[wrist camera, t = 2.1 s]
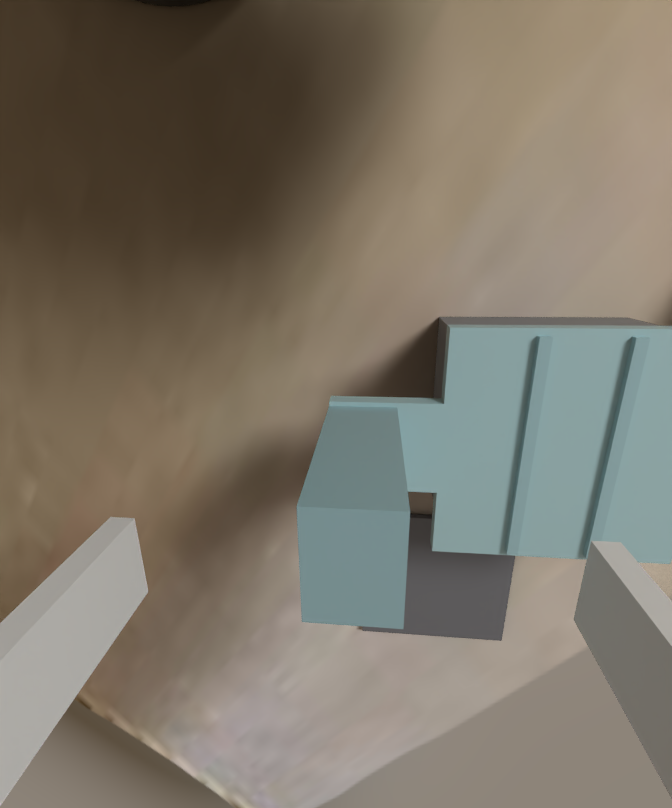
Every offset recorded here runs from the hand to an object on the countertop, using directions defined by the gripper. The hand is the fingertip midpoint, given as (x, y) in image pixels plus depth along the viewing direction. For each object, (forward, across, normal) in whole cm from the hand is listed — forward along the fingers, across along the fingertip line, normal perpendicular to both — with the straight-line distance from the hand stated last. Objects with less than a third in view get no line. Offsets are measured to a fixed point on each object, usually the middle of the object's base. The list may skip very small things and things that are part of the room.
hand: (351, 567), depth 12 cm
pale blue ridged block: (+8, +7, 0) cm, 11 cm away
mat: (+14, +5, -12) cm, 20 cm away
